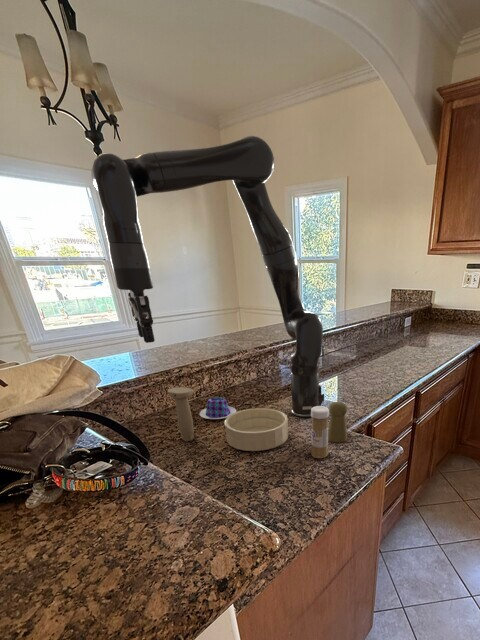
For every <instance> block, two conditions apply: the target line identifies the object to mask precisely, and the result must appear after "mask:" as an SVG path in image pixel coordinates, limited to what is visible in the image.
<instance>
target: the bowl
mask: <svg viewBox="0 0 480 640" xmlns="http://www.w3.org/2000/svg"><path fill="white" fill-rule="evenodd" d="M224 428H225V436H226V442H227V444H228V445H229V446H230V447H232V448H234V449H236V450H240V451H247V452H248V451H249V452H260V451H267V450H271V449H274V448H275V449H276V448H278V447H279V446H281V445H283V444H284V443H285V442H287V440H288V438H289V417H288V416H287V414H285V412H283V411H280V410H277V409H274V408H273V409H272V408H267V407H265V408H264V407H256V408H246V409H242V410H238V411H236V413H233V414H232V415H230V416H228V417H226V418H225V420H224Z"/></svg>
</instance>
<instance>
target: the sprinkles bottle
mask: <svg viewBox="0 0 480 640" xmlns="http://www.w3.org/2000/svg"><path fill="white" fill-rule="evenodd" d="M329 416H330V411H329V407H327V406H323V405H321V406H316V407H313V408H312V409H311V434H310V435H311V436H310V437H311V439H310V441H311V442H310V444H311V452H310V455H311V456H312V458H314V459H324V458H326V457H327V456H328V455H329V452H328V447H329V446H328V445H329V440H328V429H329Z"/></svg>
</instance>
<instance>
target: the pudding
mask: <svg viewBox="0 0 480 640" xmlns="http://www.w3.org/2000/svg"><path fill="white" fill-rule="evenodd" d="M236 412H237V409H236V407H233V406H229V405H228V401H227V399H226V398H225V397H222V396H217V397H216V396H214V397H212V398H209V399H208V400H207V402H206V408H204V409H202V410H201V411H199V416H200V417H201V418H203V419H208V420H221V419H226V418H227V417H228V416H230V415H232V414H233V413H236Z"/></svg>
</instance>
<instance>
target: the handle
mask: <svg viewBox="0 0 480 640" xmlns="http://www.w3.org/2000/svg"><path fill="white" fill-rule="evenodd" d="M193 392H194V391H193V389H192V388H191V387H184V386H177V387H170V388H169V389H167V395H168V396H169V397H171V398H172V399H174V401H175V408H176V409H175V410H176V419H177V425H178V429H179V430H178V431H179V433H180V436H181V439H182V441H184V442H191V441H193V440H195V428H194V427H195V426H194V421H193V416H192V411H191V407H190V403H189V397H191V396H192V395H193V394H194V393H193Z"/></svg>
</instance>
